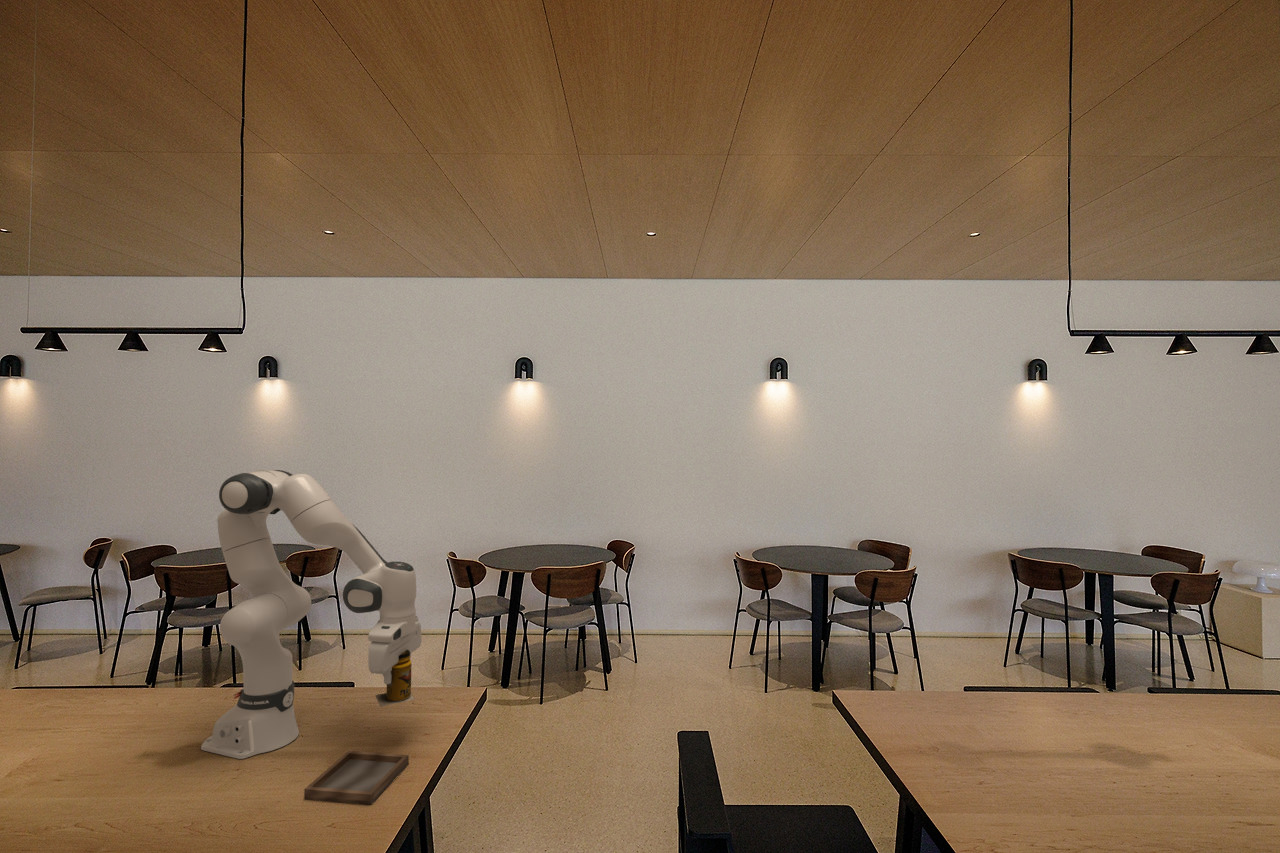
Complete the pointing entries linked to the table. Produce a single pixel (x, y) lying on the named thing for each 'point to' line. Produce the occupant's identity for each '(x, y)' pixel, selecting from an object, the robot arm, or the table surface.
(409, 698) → the condiment
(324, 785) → the square wooden tray
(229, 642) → the robot arm
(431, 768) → the table surface
